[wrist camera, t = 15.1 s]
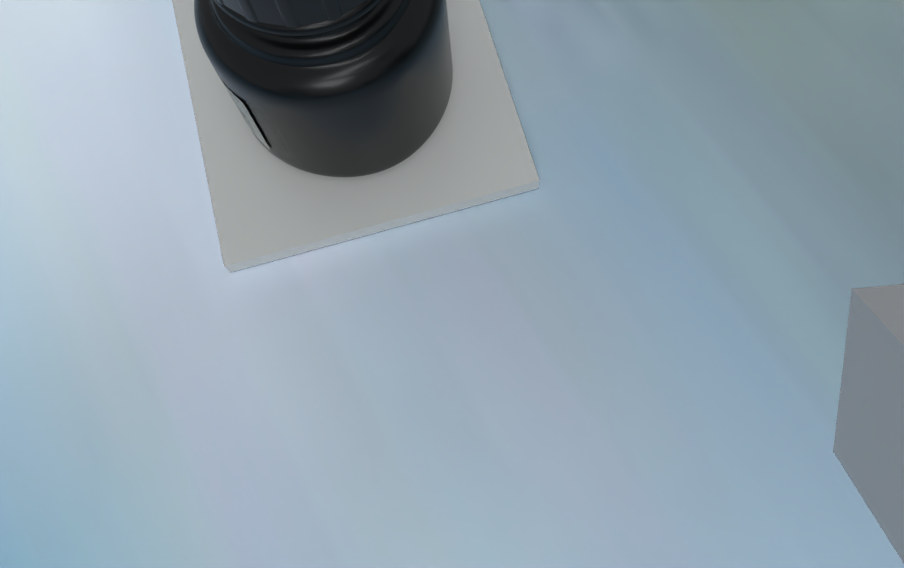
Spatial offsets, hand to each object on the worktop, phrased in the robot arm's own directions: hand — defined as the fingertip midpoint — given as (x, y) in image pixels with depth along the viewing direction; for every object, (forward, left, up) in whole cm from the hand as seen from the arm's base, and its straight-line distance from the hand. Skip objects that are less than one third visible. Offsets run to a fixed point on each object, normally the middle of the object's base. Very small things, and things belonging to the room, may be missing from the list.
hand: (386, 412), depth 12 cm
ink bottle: (0, -17, -19) cm, 25 cm away
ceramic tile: (0, -17, -19) cm, 26 cm away
